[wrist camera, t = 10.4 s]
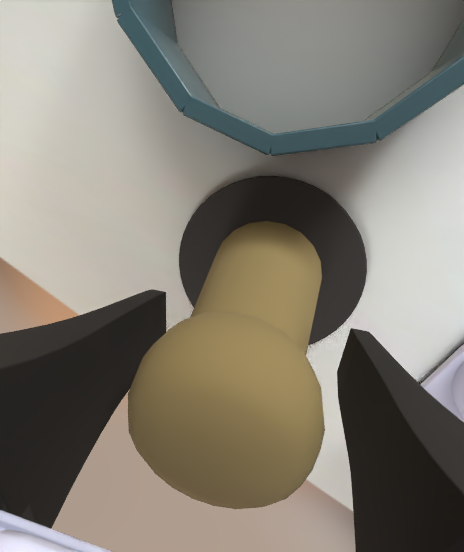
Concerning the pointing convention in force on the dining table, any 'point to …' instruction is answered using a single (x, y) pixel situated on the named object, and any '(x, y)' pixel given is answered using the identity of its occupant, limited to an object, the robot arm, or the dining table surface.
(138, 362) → the robot arm
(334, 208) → the black mat
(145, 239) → the dining table surface
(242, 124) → the teal hollow ring
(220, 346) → the tan game pawn
